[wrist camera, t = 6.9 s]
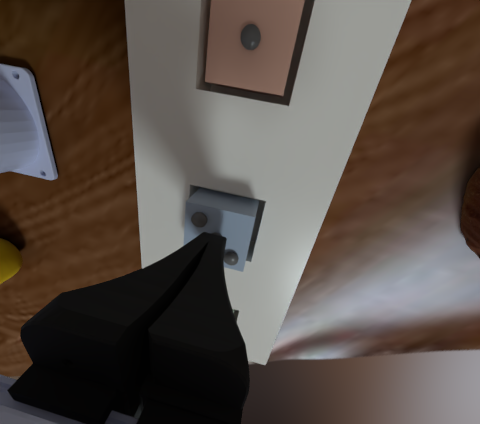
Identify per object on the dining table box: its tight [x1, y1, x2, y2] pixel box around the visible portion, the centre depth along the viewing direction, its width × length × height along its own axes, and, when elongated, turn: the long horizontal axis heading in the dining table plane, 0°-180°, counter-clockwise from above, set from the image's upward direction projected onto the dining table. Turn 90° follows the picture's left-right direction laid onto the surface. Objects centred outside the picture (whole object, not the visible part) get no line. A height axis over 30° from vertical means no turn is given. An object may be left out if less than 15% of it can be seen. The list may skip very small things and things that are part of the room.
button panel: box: [125, 0, 411, 365], centre depth 15 cm, size 12×28×3 cm, turn 171°
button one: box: [205, 0, 305, 98], centre depth 11 cm, size 4×4×3 cm
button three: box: [184, 188, 259, 272], centre depth 14 cm, size 4×4×3 cm
